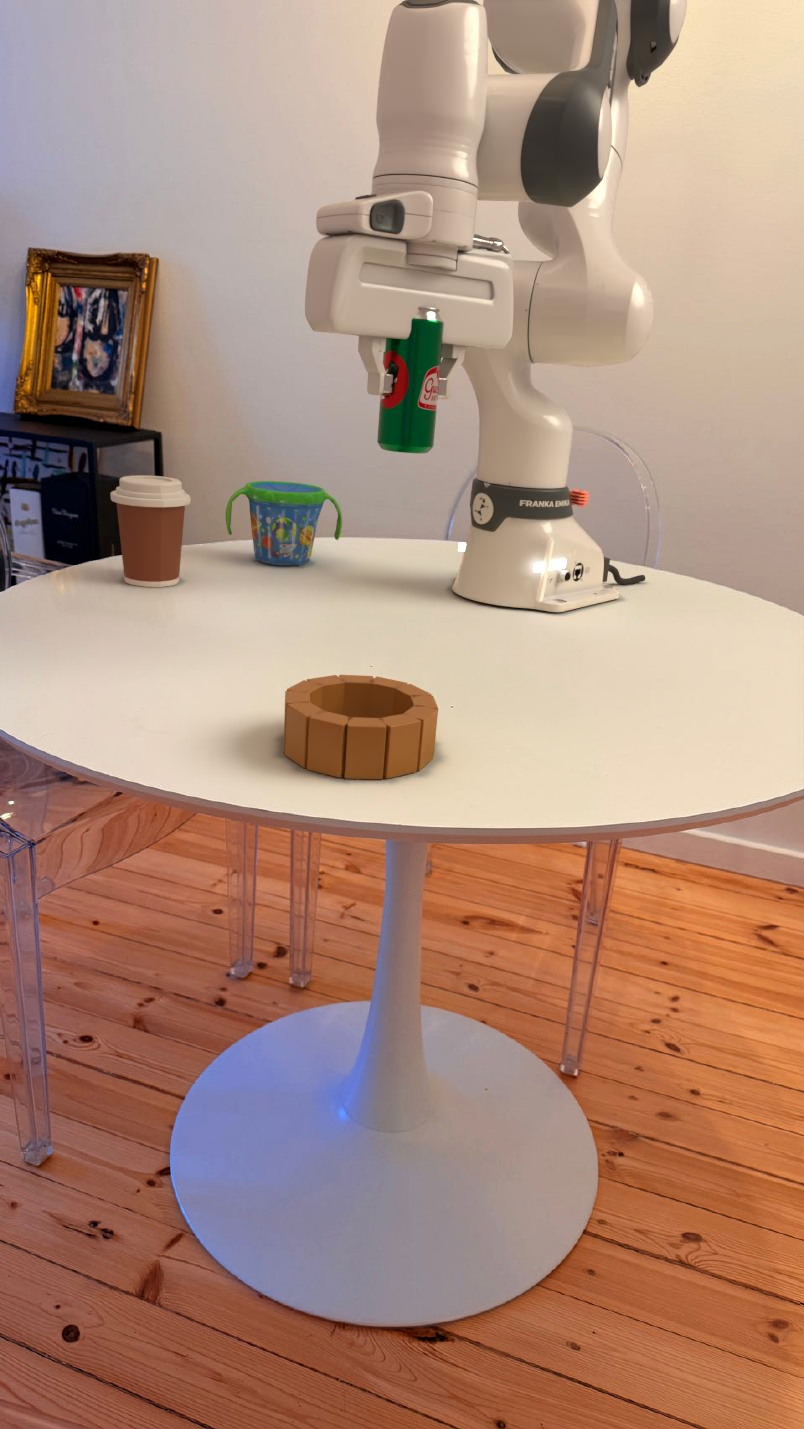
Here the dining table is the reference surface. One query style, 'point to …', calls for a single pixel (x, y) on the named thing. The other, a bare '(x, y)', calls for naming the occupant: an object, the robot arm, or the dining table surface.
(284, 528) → the snack cup
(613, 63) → the robot arm
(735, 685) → the dining table surface
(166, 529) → the coffee cup
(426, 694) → the brown segmented block ring
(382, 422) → the soda can
